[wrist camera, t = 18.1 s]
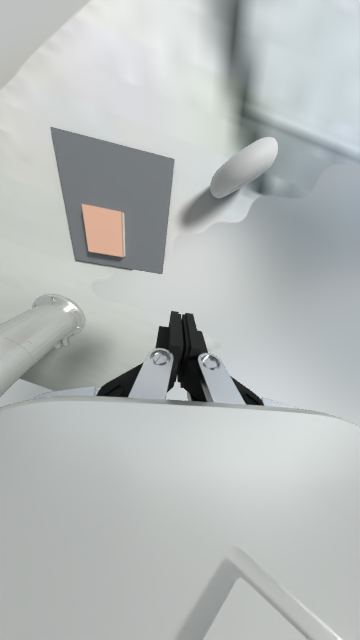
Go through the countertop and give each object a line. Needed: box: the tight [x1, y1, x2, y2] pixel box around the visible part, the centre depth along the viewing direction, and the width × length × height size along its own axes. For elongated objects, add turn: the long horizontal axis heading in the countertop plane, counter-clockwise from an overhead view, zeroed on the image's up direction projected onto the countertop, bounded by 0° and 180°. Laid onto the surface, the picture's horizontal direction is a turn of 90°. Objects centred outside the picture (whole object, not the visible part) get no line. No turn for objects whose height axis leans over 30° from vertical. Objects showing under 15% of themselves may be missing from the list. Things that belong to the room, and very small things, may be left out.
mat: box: [51, 127, 174, 274], centre depth 29 cm, size 20×20×1 cm
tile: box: [82, 204, 125, 257], centre depth 29 cm, size 8×2×7 cm
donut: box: [210, 137, 278, 198], centre depth 23 cm, size 10×3×10 cm, turn 115°
